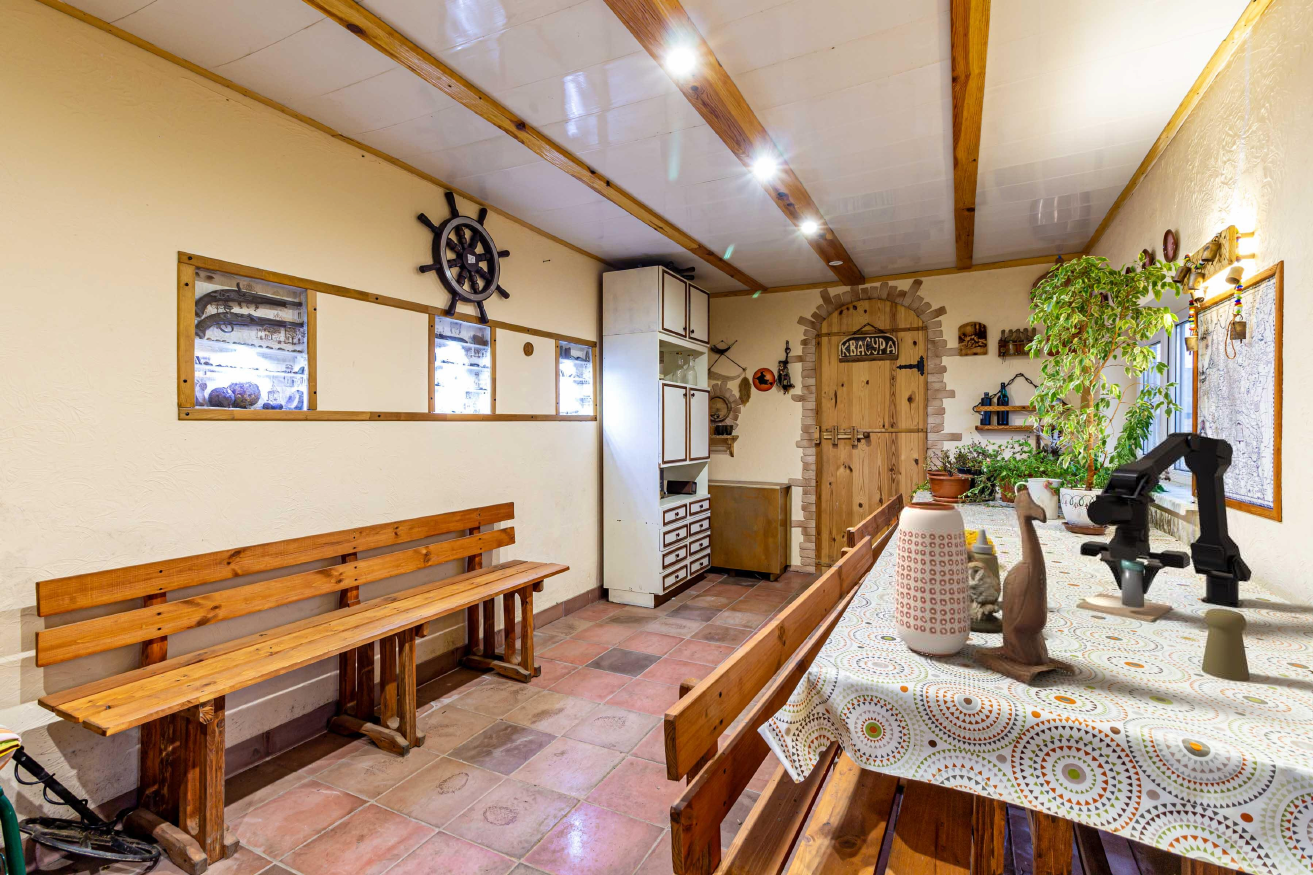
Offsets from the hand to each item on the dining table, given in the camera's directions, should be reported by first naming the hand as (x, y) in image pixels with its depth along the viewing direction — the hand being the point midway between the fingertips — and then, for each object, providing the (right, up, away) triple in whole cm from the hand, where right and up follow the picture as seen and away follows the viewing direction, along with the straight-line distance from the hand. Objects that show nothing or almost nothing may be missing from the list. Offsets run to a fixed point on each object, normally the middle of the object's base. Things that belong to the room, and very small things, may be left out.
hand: (1132, 591), depth 134 cm
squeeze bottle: (-29, -6, +10) cm, 31 cm away
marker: (0, -3, 0) cm, 3 cm away
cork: (-10, -6, -32) cm, 34 cm away
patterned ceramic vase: (-54, -6, -19) cm, 58 cm away
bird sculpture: (-43, -6, -29) cm, 52 cm away
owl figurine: (-40, -6, -2) cm, 41 cm away
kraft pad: (+2, -5, +5) cm, 8 cm away
